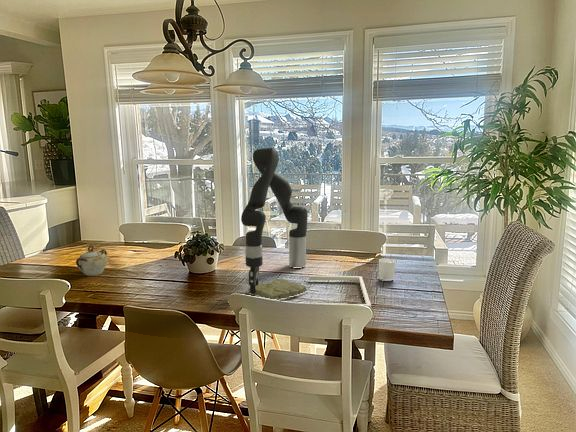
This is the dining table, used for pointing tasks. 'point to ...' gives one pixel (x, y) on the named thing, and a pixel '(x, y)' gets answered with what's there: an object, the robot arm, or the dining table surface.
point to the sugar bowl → (92, 262)
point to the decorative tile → (278, 289)
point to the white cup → (386, 268)
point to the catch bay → (365, 295)
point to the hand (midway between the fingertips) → (254, 289)
